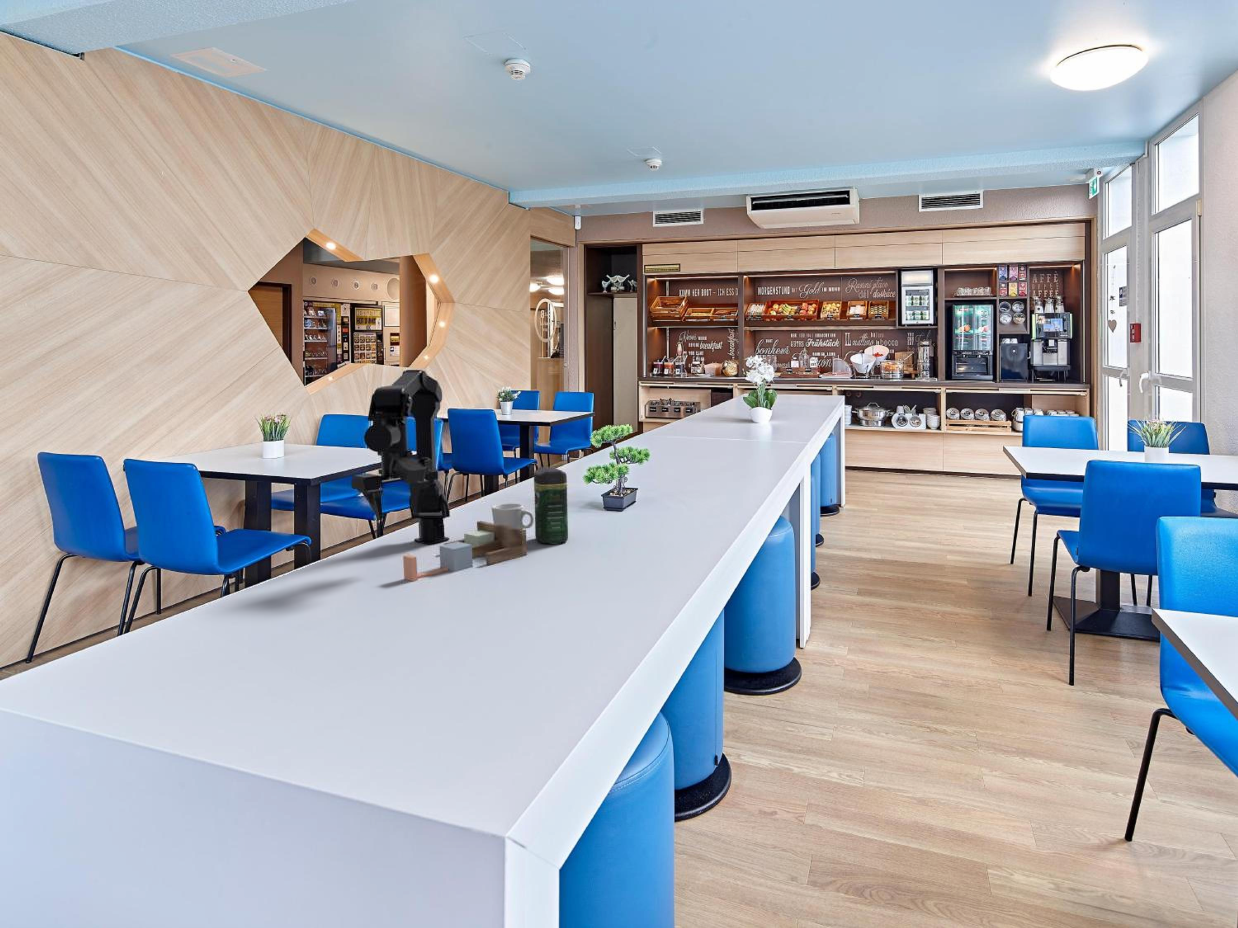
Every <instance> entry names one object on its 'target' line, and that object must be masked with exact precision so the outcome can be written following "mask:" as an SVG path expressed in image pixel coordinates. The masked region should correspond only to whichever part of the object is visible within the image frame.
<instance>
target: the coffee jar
mask: <svg viewBox="0 0 1238 928" xmlns="http://www.w3.org/2000/svg"><path fill="white" fill-rule="evenodd" d="M567 479H568V478H567V473H566V472H565V471H563V470H562V469H559V468H557V467H555V466H541V467H539V468H537V469H536V470H535V471H534V474H533V486H534V487H533V489H534V490H533V491H534V531H535V532H534V535H535V539H536V541H538V542H539V543H541V544H551V545H557V544H561V543H563V542H564V543H565V542H567V541H568V539H569V524H568V523H569V522H568V521H569V520H568V519H569V518H568V517H569V516H568V515H569V514H568V480H567Z"/></svg>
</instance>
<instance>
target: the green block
mask: <svg viewBox="0 0 1238 928" xmlns="http://www.w3.org/2000/svg"><path fill="white" fill-rule="evenodd" d="M463 535H464V536H463V537H464V538H463V539H464V541H465V543H466V544H470V545H472V546H476V545H480V544H484V543H488V542H492V541H494V532H489V531H484V530H473V531H469V532H464V534H463Z"/></svg>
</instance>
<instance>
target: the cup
mask: <svg viewBox="0 0 1238 928" xmlns="http://www.w3.org/2000/svg"><path fill="white" fill-rule="evenodd" d="M491 512H492V513H491V514H492V521H493V522H492V523H494V524H499V525H504V526H509V527H514V528H519V529H524V530H527V529H530V528H532V526H533V525H534V523H535V515H534V513H533V512H532V511H530V510H527V509H524V506H523V504H520V503H511V502H509V503H499V504H495V505H492V507H491ZM526 515H528V516H529V518H530V522H529V524H526V523H525V522H524V517H525V516H526Z"/></svg>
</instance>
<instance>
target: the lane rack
mask: <svg viewBox="0 0 1238 928" xmlns="http://www.w3.org/2000/svg"><path fill="white" fill-rule="evenodd" d="M476 529H477V530H484V531H489V532H494V541H492V542H488V543H484V544H480V545H476V546H472V560H473V559H476V558H479V557H483V556H485V565H488V566H492V565H495V564H498V563H502V562H507V561H510V560H514V559H517V558H520V557H524V556H527V555H528V550H527V549H528V548H527V546H528V545H527V529H519V528H514V527H509V526H504V525H499V524H494V522H487V521H483V520H480V521H476ZM477 530H476V531H477ZM454 542H461V543H465V541H464V538H462V539H457V540H454V541H450V542H449V541H448V542H445V543H443V545H446V544H450V543H454Z"/></svg>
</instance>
